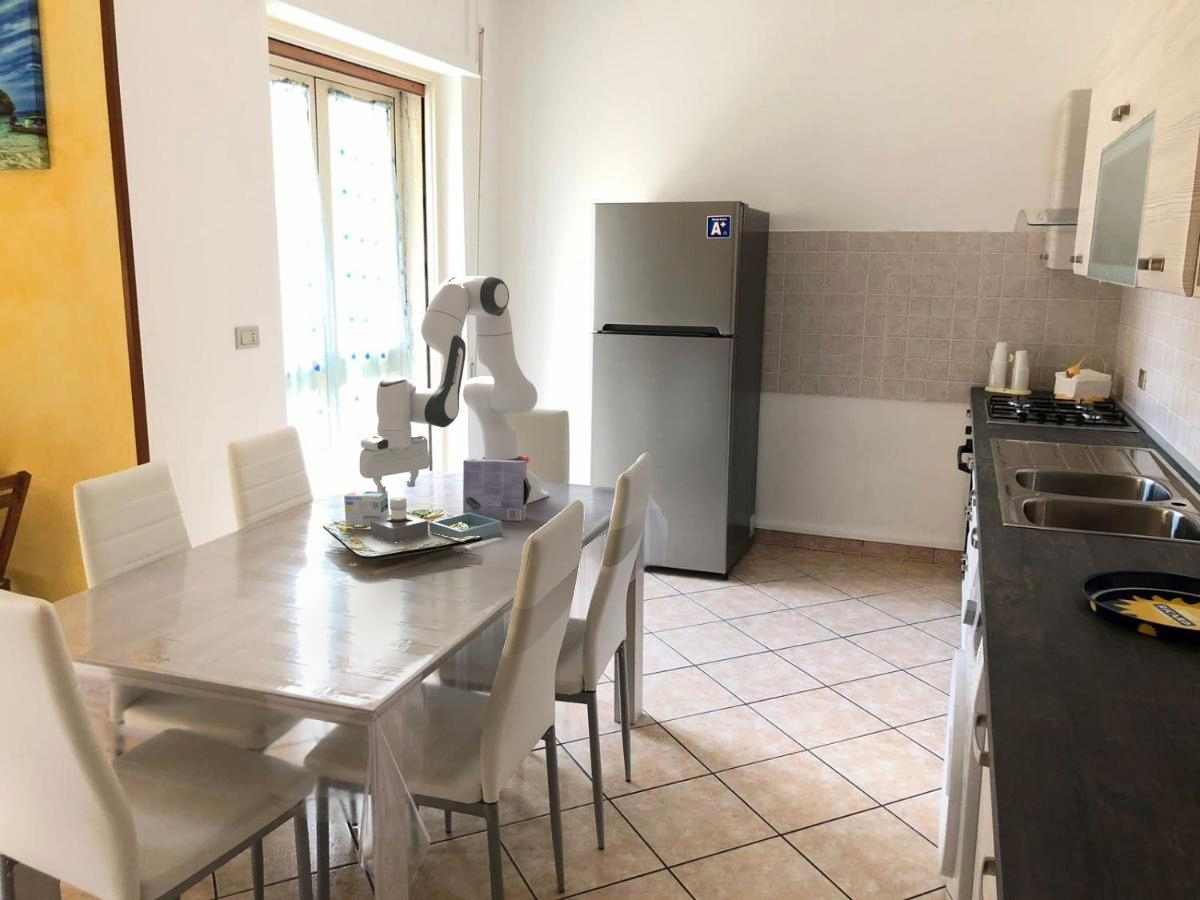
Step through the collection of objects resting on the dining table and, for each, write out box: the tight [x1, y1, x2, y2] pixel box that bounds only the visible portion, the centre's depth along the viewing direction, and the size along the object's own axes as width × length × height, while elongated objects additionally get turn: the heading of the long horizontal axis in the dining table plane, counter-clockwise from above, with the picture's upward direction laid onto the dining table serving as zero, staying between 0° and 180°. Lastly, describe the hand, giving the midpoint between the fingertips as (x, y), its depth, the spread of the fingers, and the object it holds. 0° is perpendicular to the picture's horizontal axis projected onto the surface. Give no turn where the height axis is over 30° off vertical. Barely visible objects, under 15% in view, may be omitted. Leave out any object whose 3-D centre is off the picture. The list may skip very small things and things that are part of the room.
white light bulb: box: [389, 496, 408, 525], centre depth 254 cm, size 4×4×10 cm
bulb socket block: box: [370, 513, 429, 544], centre depth 255 cm, size 11×11×5 cm
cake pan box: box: [462, 458, 530, 522], centre depth 273 cm, size 19×5×18 cm, turn 84°
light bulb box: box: [343, 490, 390, 527], centre depth 263 cm, size 11×7×11 cm, turn 84°
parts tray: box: [428, 512, 503, 547], centre depth 257 cm, size 14×14×4 cm
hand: (396, 489), depth 252 cm, fingers open, 8 cm apart
